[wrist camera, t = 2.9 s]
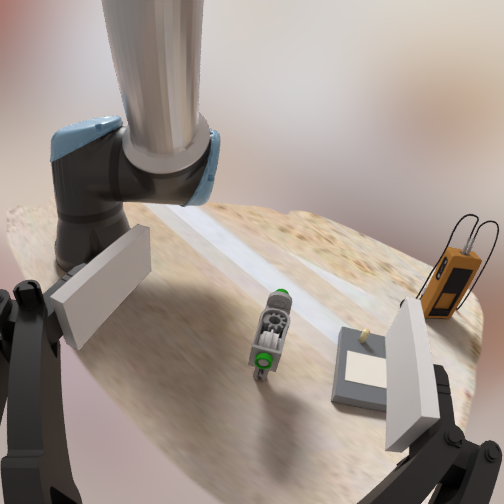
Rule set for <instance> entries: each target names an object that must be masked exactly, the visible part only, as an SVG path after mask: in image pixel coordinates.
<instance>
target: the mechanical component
mask: <svg viewBox="0 0 504 504" xmlns="http://www.w3.org/2000/svg"><path fill="white" fill-rule="evenodd" d="M291 305H292V298H291V297H290V296H289V294H288V292H287V291H286V290H284V289H278V290H276V291H275V292H273V293H271V294H270V295H269V297H268V301H267V305H266V308H265V310H264V311H263V312H262V313H261V315H260V320H259V324H258V329H257V332H256V335H255V339H254V342H253V345H252V348H251V353H250V358H249V363H248V365H250V366H254V367H255V371H254V375H253V376H254V379H259V376H260V377H262V381H265V380H266V378H267V374H268V371H273V372H276V369H277V366H278V363H279V360H280V357H281V354H282V349H283V345H284V341H285V337H286V334H287V331H288V328H289V324H290V317H289V314H290V309H291Z"/></svg>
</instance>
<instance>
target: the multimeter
mask: <svg viewBox="0 0 504 504" xmlns="http://www.w3.org/2000/svg"><path fill="white" fill-rule="evenodd" d="M467 216H474V217H476V218H477V222H476V224H475V226H474V228H473V230H472V232H471V235H470V237H469V238H468V241H467V243H466V244H465V246H464V248H463V250H461V249H456V248H451V247H448V245H449V243H450V240H451V238H452V236H453V233H454V231H455V229H456V227H457V225H458V224H459V223H460V222H461V220H462V219H464V218H465V217H467ZM478 221H479V218H478V217H477V216H476V215H473V214H467V215H465V216H464V217H463V218H461V219H460V220H459V222H458V223H457V224H456V226H455V228H454V230H453V232H452V234H451V236H450V239H449V241H448V244H447V246H446V248H445V250H444V252H443V254H442V256H441V257H440V259H439V261H438V262H437V264H436V265H435V267H434V268H433V270H432V271H431V273H430V275H429V276H428V278H427V280H426V282H425V284H424V285H423V287H422V289H421V290H420V292H419V294H418V295H417V297H416V299H417V298H418V296H419V295H420V293H421V291H422V290H423V288H424V286H425V285H426V283H427V281H428V279H429V278H430V276H431V274H432V272H433V271H434V269H435V268H436V266H437V265H438V266H437V268H436V270H435V272H434V274H433V276H432V278H431V280H430V283H429V285H428V287H427V285H426V287H427V289H426V287H425V288H424V290H423V292H422V295H421V298H422V299H421V298H420V299H419V300H421V306H422V310H423V314H424V318H445V319H449V318H451V316H452V315H453V313H454V311H455V310H458V309H459V308H460V307H461V306H462V304H463V303H464V301H465V300H466V298H467V297H468V295H469V294H470V292H471V290H472V289H473V287H474V285H475V284H476V282H477V280H478V278H479V277H480V275H481V273H482V271H483V269H484V268H485V266H486V264H487V262H488V260H489V258H490V256H491V254H492V251H493V249H494V247H495V244H496V241H497V238H498V233H499V226H498V224H497V223H496V222H495V221H486V222H484V223H482V224H481V225H480V226H479V228H480V227H481V226H482V225H483V224H485V223H488V222H493V223H496V225H497V228H498V230H497V236H496V240H495V243H494V246H493V248H492V251H491V253H490V255H489V257H488V259H487V261H486V263H485V265H484V267H483V269H482V270H481V272H480V274H479V276H478V278H477V280H476V281H475V283H474V285H473V286H472V288H471V290H470V291H469V293H468V295H467V296H466V298H465V299H464V301H463V302H462V304H461V305H460V306H459V307H458V308H457V306H458V305H459V303H460V301H461V300H462V298H463V296H464V295H465V293H466V291H467V289H468V287H469V286H470V284H471V282H472V280H473V278H474V276H475V274H476V272H477V270H478V268H479V266H480V264H481V262H482V260H481V259H480V258H479V257H478V256H477V255H476V254H475V253H474V252H473V251H471V248H472V244H473V243H474V240H475V237H476V235H477V233H478V230H479V228H478V230H477V232H476V234H475V236H474V238H473V240H472V242H471V244H470V245H469V247H468V243H469V241H470V239H471V236H472V234H473V231H474V229H475V227H476V225H477V223H478ZM467 247H468V249H467ZM438 263H439V264H438ZM422 296H423V297H422ZM404 300H405V299H404ZM404 300H403V301H402V302H404ZM402 302H401V304H400V308H401V306H402Z"/></svg>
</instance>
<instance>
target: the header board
mask: <svg viewBox="0 0 504 504" xmlns="http://www.w3.org/2000/svg"><path fill="white" fill-rule="evenodd" d="M331 402H336V403H341V404H345V405H350V406H356V407H361V408H366V409H372V410H378V411H384V412H387V375H386V345H385V337H384V336H380V335H375V334H371V333H370V330H369V329H367V328H365V329H364V330H363V331H359V330H355V329H351V328H346V327H342V328H341V330H340V333H339V339H338V349H337V358H336V367H335V375H334V383H333V390H332V398H331Z"/></svg>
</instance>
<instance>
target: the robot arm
mask: <svg viewBox="0 0 504 504" xmlns="http://www.w3.org/2000/svg"><path fill="white" fill-rule="evenodd" d="M203 3H204V0H102V5H103V11H104V17H105V22H106V28H107V33H108V38H109V43H110V48H111V53H112V58H113V62H114V67H115V71H116V76H117V80H118V84H119V89H120V93H121V97H122V100H123V105H124V109H125V113H126V116H127V121H128V126H127V127H124V126H122V125H123V121H122V119H121V117H119V116H107V117H100V118H95V119H90V120H86V121H82V122H78V123H75V124H72V125H69V126H66V127H64V128H62V129H60V130H58V131H57V132H56V133H55V134H54V135H53V137H52V139H51V158H50V162H51V166H52V175H53V184H54V192H55V199H56V206H57V213H58V225H57V239H56V241H55V255H56V259H57V263H58V265H59V266H60V267H61V268H62V269H63V270H64V271H66V272H68V273H67V275H65V276H63V277H62V278H61V280H59V281H58V282H56V283H55V284H54V285H53V286H52V287H51V288H49V289H48V290H47V291H46V292H45V293H44V294H42V291H41V288H40V284H39V283H38V282H37V281H35V280H25V281H22V282H21V283H19V284H18V285H17V286H15V288H14V290H13V293H14V296H15V298H16V300H12V299H11V298H10V295H9V293H8V292H7V291H6V290H3V289H0V424H1V420H2V415H3V411H4V408H5V404H6V400H7V397H8V400H7V445H8V453H7V456H5V457H3V458H2V460H1V479H2V488H3V497H4V504H82V500H81V496H80V493H79V491H78V489H77V487H76V485H75V483H74V480H73V477H72V472H71V467H70V461H69V454H68V448H67V440H66V433H65V424H64V414H63V404H62V388H61V360H60V341H59V339H60V338H61V337H62V336H64V338H65V341H66V344H68V345H70V346H71V347H73V348H75V349H77V350H78V351H79V350H80V349H81V348H82V346H83V345H84V344H85V343H86V342H87V341H88V340H89V338H90V337H91V336H92V335H93V334H94V333H95V332H96V330H97V329H98V328H99V327H100V326H101V325H102V324H103V323H104V321H105V320H106V319H107V318H108V317H109V316H110V315H111V314H112V313H113V312H114V310H115V309H116V308H117V307H118V306H119V305H120V304H121V303H122V302H123V301H124V299H125V298H126V297H127V296H128V295H129V294H130V293H131V292H132V291H133V290H134V289H135V288H136V287H137V285H138V284H139V283H140V282H141V281H142V280H143V279H144V278H145V277H146V276H147V275H148V274H149V273H150V272H151V255H150V228H149V227H146V226H143V225H139V224H137V225H136V226H134V227H133V228H132V229H131V228H130V226H129V223H128V221H127V218H126V215H125V213H124V210H123V202H141V203H156V204H171V205H180V206H182V207H185V206H200V205H203V204H205V203H206V202H207V201H208V199H209V197H210V195H211V192H212V188H213V184H214V176H215V173H216V170H217V164H218V158H219V150H220V134H219V133H218V132H217V131H214V130H212V129H209V125H208V123H207V121H206V120H205V118H204V117H203V116H202V115H201V114H200V113H199V81H200V55H201V34H202V18H203ZM385 345H386V375H387V414H386V443H385V451H392V452H401V453H402V452H403V451H404V450H405V449H407V448H408V447H409V455H408V456H407V457H406V458H404V459H403V460H402V461H400V462H399V463H398V464H396V465H397V467H396V468H395V469H394V470H393V471H392V472H391V473H390V474H389V475H388V476H387V477H386V478H385V479H384V480H383V481H382V482H381V483H379V484H378V485H377V486H376V487H375V488H374V489H373V490H372V491H371V492H370V493H369V494H367V495H366V496H365V497H364V498H363V499H362V500H361V501H359V502H358V503H357V504H421V503H422V502H423V501H424V500H425V498H426V497H427V496H428V495H429V494H430V492H431V491H432V490H433V489H434V487H435V486H436V485H437V486H436V488H435V490H434V492H433V494H432V497H431V499H430V500H429V502H428V504H489V502H490V498H491V496H492V493H493V489H494V486H495V483H496V480H497V476H498V472H499V469H500V465H501V461H502V452H501V449H500V447H499V445H498V444H497V443H495V442H494V441H491V440H489V441H485V442H484V443H483V444H481V445H480V446H479V445H477V444H474V443H472V442H470V441H467V440H466V439H465V436H464V433H463V431H462V430H461V429H460V428H459V427H458V426H456V425H455V420H454V412H453V405H452V398H451V396H450V394H451V392H450V387H449V386H450V385H449V379H448V375H447V373H446V371H445V370H444V368H443V366H441V365H436V364H433V361H432V355H431V349H430V344H429V338H428V333H427V328H426V324H425V319H424V314H423V310H422V306H421V301H420V300H419V299H415V298H411V297H408V296H406V298H405V300H404V302H403V304H402V306H401V308H400V310H399V312H398V314H397V316H396V318H395V320H394V321H393V323H392V325H391V327H390V329H389V331H388V332H387V334H386V336H385Z"/></svg>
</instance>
